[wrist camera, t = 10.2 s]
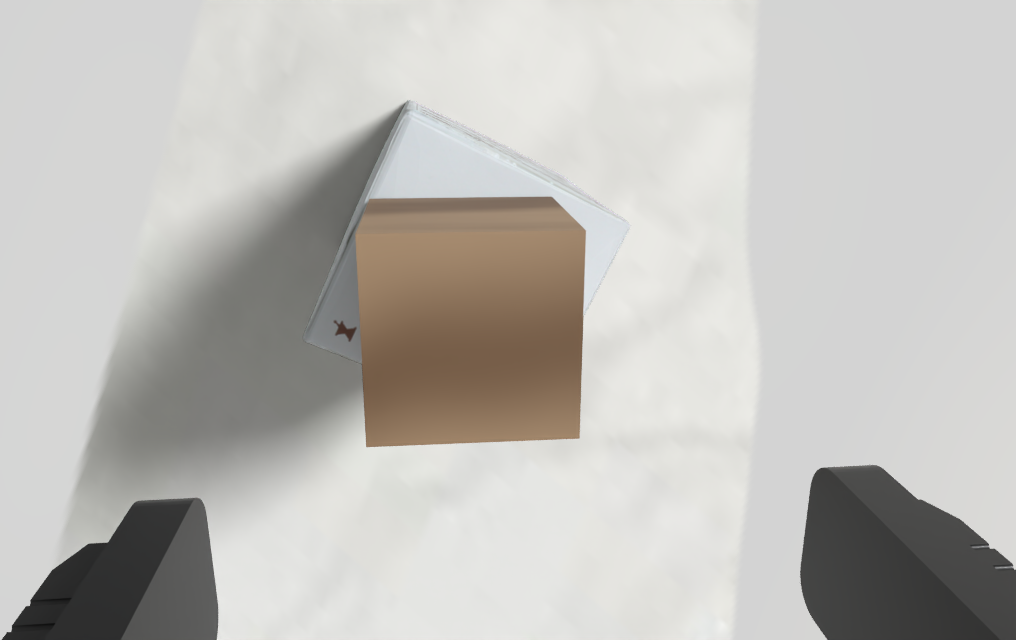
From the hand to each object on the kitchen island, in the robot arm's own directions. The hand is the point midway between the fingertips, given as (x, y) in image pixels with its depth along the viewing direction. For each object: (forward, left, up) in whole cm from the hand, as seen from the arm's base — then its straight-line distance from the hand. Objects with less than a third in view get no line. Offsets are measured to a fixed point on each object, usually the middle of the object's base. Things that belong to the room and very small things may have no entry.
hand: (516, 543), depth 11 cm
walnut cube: (0, 0, -13) cm, 13 cm away
